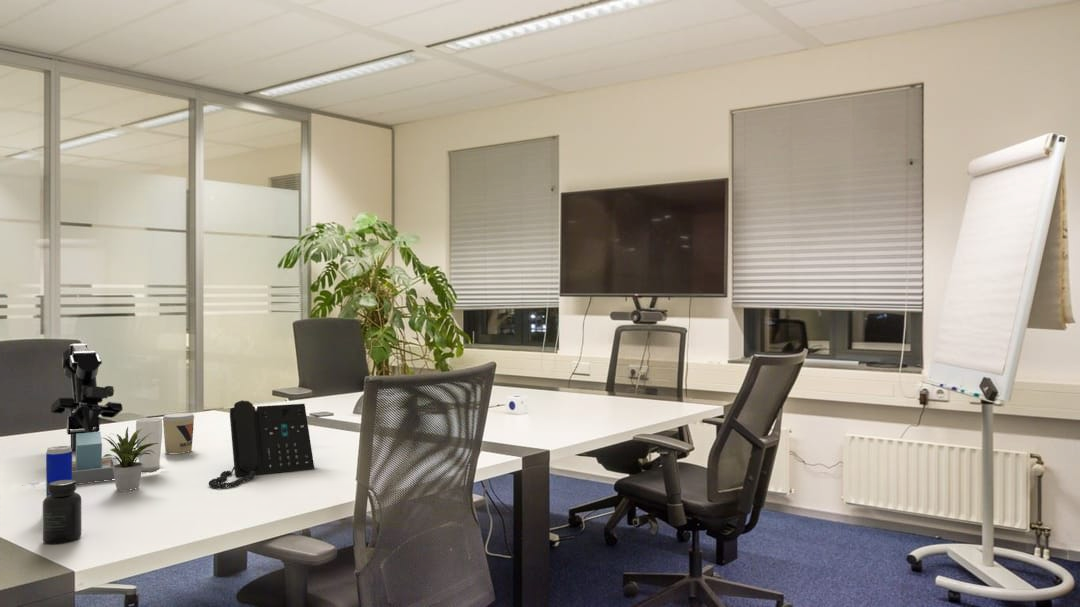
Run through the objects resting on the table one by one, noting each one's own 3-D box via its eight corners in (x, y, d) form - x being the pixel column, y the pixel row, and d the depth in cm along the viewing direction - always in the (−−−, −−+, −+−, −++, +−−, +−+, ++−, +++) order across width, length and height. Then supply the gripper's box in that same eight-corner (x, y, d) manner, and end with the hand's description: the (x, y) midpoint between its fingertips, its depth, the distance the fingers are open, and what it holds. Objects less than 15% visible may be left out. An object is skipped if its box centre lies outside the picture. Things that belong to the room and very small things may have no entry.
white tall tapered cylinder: (167, 469, 220) (167, 418, 220) (148, 474, 214) (148, 422, 214) (149, 467, 223) (149, 417, 223) (130, 472, 216) (130, 420, 216)
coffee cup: (181, 455, 240) (181, 417, 240) (156, 453, 242) (156, 416, 242) (200, 449, 249) (200, 413, 249) (175, 448, 251) (175, 412, 251)
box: (61, 475, 213) (61, 463, 213) (114, 469, 220) (114, 457, 220) (63, 486, 201) (62, 473, 201) (119, 479, 208) (119, 466, 208)
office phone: (209, 491, 197) (209, 414, 197) (201, 469, 222) (200, 401, 222) (323, 478, 211) (322, 406, 211) (303, 459, 236) (302, 395, 236)
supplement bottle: (59, 533, 161) (58, 478, 161) (89, 534, 160) (88, 478, 160) (34, 544, 154) (34, 486, 154) (65, 545, 154) (65, 487, 153)
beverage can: (54, 508, 180) (53, 445, 180) (76, 507, 181) (76, 445, 181) (41, 514, 175) (41, 450, 175) (64, 513, 176) (64, 449, 175)
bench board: (60, 467, 222) (60, 462, 222) (111, 462, 230) (111, 457, 230) (62, 475, 213) (62, 469, 213) (114, 469, 220) (114, 464, 220)
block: (75, 461, 218) (76, 433, 216) (99, 458, 222) (100, 431, 219) (76, 473, 213) (77, 445, 210) (101, 471, 216) (101, 443, 214)
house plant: (111, 499, 188) (110, 434, 187) (82, 492, 195) (81, 429, 195) (165, 487, 200) (165, 426, 200) (136, 480, 207) (136, 421, 207)
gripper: (68, 371, 225) (71, 418, 218) (130, 378, 240) (134, 423, 233) (49, 388, 229) (51, 435, 222) (110, 394, 244) (114, 438, 237)
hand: (89, 432), depth 229 cm, fingers closed
